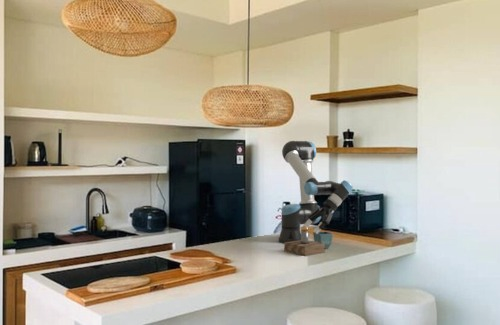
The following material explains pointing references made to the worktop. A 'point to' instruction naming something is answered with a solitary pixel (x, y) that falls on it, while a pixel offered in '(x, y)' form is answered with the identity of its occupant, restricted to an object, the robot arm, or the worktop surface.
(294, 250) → the block
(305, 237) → the metal pin
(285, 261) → the worktop surface
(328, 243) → the flower pot
